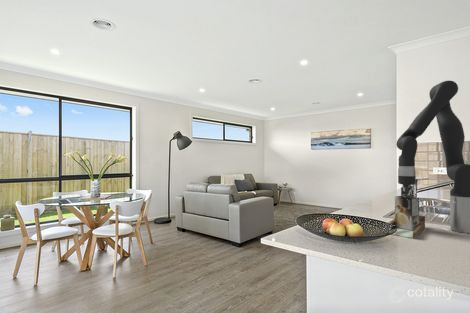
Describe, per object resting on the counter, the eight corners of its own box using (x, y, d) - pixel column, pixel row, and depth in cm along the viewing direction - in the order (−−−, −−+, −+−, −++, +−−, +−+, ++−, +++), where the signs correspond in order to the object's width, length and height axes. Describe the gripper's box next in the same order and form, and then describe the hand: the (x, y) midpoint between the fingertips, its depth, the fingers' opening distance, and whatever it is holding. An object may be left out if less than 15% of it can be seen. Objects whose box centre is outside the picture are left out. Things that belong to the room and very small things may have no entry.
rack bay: (425, 227, 133) (425, 215, 133) (416, 239, 113) (416, 225, 113) (395, 223, 142) (395, 212, 142) (382, 233, 122) (382, 220, 122)
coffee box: (420, 229, 128) (420, 197, 129) (412, 231, 126) (412, 198, 126) (401, 225, 137) (401, 195, 137) (394, 226, 134) (394, 196, 134)
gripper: (412, 176, 124) (413, 209, 124) (417, 174, 134) (418, 205, 134) (395, 175, 129) (395, 207, 129) (401, 174, 139) (401, 203, 139)
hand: (406, 206), depth 131 cm, fingers closed on coffee box, 8 cm apart
